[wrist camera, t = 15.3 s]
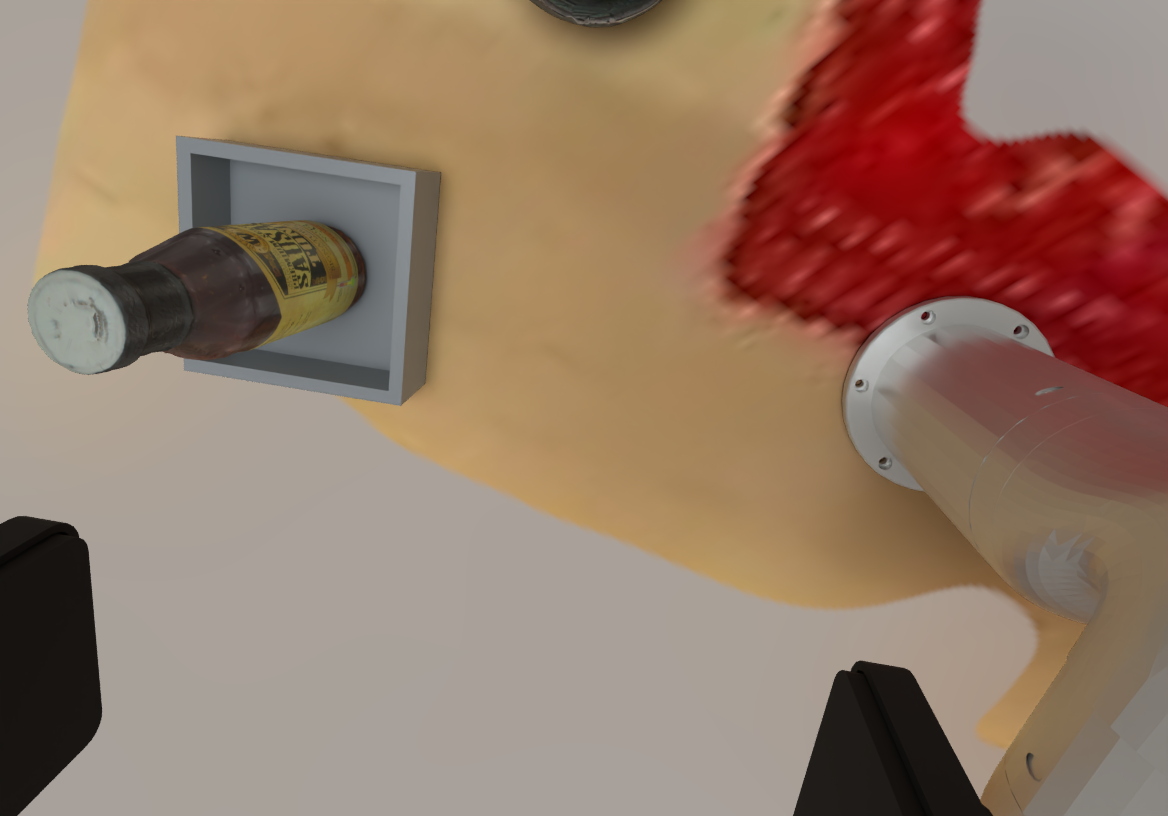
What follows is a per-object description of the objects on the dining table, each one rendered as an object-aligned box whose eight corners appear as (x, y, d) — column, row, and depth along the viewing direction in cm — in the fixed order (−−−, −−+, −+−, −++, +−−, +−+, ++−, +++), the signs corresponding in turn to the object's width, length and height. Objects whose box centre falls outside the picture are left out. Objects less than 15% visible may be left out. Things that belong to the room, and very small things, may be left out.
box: (441, 172, 44) (415, 171, 39) (425, 383, 48) (400, 405, 44) (226, 140, 45) (176, 135, 40) (229, 351, 49) (184, 370, 44)
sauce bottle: (388, 257, 45) (198, 314, 26) (340, 337, 47) (131, 443, 28) (298, 194, 44) (37, 205, 25) (253, 277, 46) (-21, 345, 27)
